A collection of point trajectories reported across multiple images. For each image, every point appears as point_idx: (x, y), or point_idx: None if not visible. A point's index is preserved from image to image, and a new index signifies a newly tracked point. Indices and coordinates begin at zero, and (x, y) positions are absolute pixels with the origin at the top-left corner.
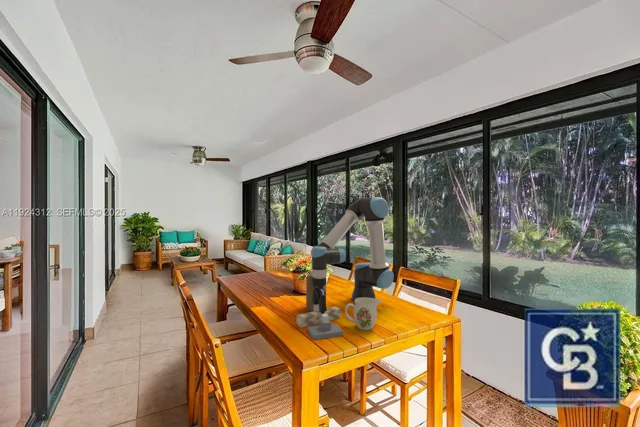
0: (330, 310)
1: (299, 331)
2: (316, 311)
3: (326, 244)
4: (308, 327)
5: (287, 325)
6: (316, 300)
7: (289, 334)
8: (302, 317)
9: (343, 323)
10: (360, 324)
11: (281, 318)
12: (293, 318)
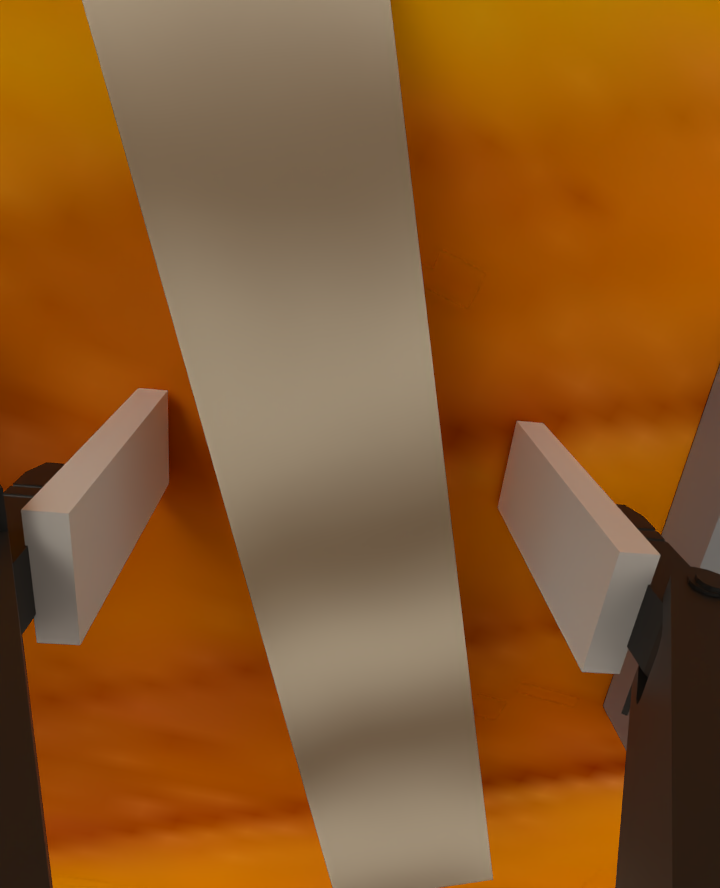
0: (359, 208)
1: (561, 780)
2: (289, 575)
3: None
4: None
5: (319, 844)
6: (29, 702)
7: (575, 872)
8: (484, 859)
9: (690, 24)
10: None
11: (52, 857)
12: (94, 743)
